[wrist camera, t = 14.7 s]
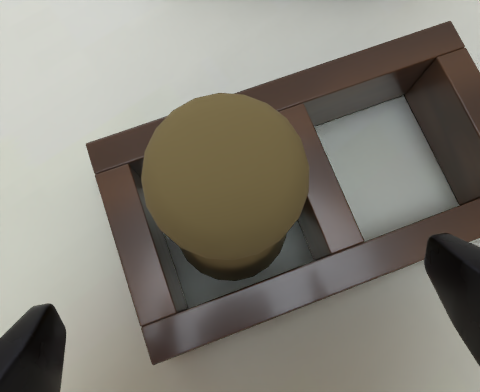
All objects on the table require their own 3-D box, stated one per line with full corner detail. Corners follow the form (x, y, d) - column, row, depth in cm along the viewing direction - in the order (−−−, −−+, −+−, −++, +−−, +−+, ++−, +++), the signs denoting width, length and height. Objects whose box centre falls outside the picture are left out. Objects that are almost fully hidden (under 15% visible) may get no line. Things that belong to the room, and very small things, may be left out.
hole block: (499, 222, 22) (556, 208, 18) (168, 351, 20) (151, 365, 16) (416, 63, 24) (451, 19, 20) (111, 168, 22) (84, 143, 19)
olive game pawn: (224, 305, 21) (210, 322, 10) (151, 217, 22) (68, 148, 11) (310, 229, 22) (381, 170, 11) (236, 148, 23) (235, 22, 12)
